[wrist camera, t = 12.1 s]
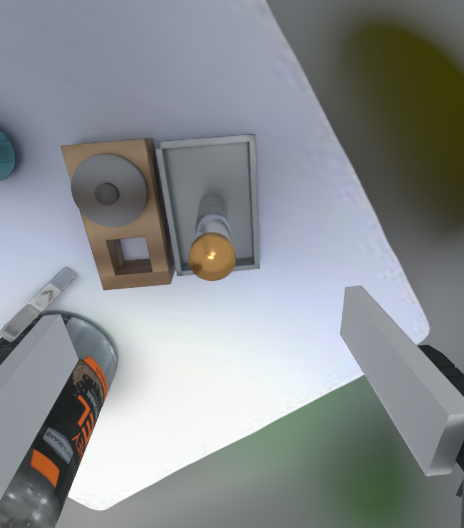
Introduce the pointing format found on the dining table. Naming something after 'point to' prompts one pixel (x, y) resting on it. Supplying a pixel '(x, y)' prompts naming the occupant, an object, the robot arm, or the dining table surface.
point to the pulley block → (121, 209)
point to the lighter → (37, 305)
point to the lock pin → (212, 241)
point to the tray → (211, 192)
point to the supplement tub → (59, 430)
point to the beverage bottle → (6, 156)
